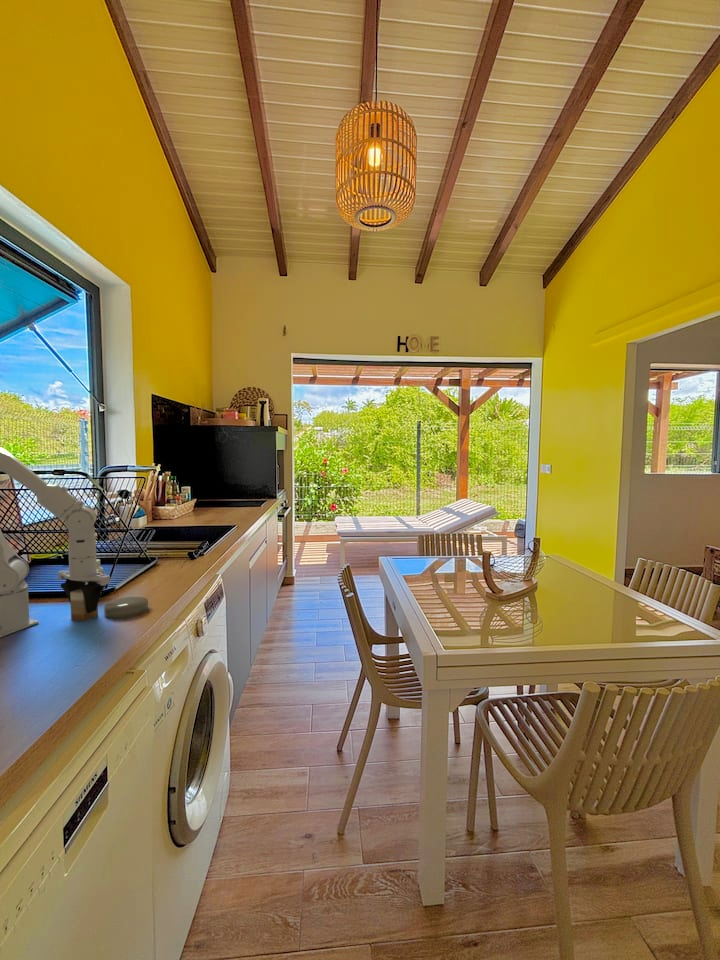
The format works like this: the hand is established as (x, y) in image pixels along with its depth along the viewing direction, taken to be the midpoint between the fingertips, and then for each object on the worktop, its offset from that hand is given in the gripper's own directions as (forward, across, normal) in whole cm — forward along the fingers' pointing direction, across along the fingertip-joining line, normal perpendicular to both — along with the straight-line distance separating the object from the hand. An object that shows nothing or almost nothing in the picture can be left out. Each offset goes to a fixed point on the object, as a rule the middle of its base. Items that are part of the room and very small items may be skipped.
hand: (84, 610), depth 110 cm
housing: (+2, 0, 0) cm, 2 cm away
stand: (+2, -6, -7) cm, 9 cm away
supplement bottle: (+2, +13, -14) cm, 19 cm away
